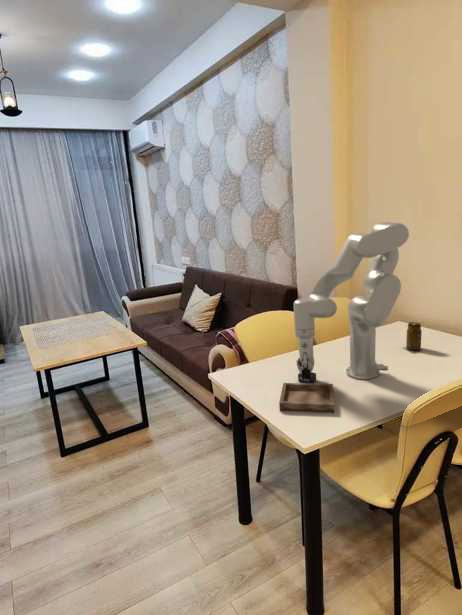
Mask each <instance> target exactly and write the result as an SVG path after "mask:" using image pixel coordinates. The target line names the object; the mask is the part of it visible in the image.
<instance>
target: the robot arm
mask: <svg viewBox="0 0 462 615" xmlns="http://www.w3.org/2000/svg"><path fill="white" fill-rule="evenodd" d="M409 237H410V233H409V229H408V227H407V226H406V225H405V224H404V223H401V222H389V221H381V222H376V224H374V225H373V226H372V227H371V230H370V233H363V232H355V233H351V234H350V235H348V237H347V238H346V239H345V242H344V243H343V245H342V247H341V249H340V250H339V252H338V254H337V256H336V258H335V260H334V261H333V264H332V265H331V267H330V268H329V270H327V271H326V272H325V273H324V274H323V275H322V276H321V277H320V278H319V280H317V282H316V284H315V285H314V287H313V288H312V291H311V293H310V294H309V297H308V298H297V299H296V300H294V302H293V320H294V322H293V323H294V336H295V337H297V339H298V340H297V341H298V353H299V357H300V362H302V379H310V378H311V375H310V368H309V362H311V363H312V362H313V357H314V340H313V339H314V338H313V337H315V335H316V327H315V319H328V318H331V317H333V316H334V315H335V314H336V313H337V310H338V306H337V303H336V302H335V301H334V300H333V299H332V298H330V296H331V294H332V292H333V291H334V290H335V289H336V288H337V287H338V286H340V285H342V284H344V283H345V282H347V281H350V280H351V279H352V278H353V277H354V275H355V273H356V271H357V269H358V268H359V266H360V264H361V262H362V261H363V259H370V258H373V261H372V262H371V265H370V267H369V268H368V271H367V273H366V274H365V277H364V279H363V281H362V288H363V290H364V291H365V292H366V293H368V294H370V295H371V297H369V296H367V295H361V294H360V295H355V296H354V297H353V298H352V299H350V300H349V303H348V306H347V312H348V313H347V314H348V320H349V336H350V337H349V356H350V357H349V366H348V367H346V370H345V373H346V375H347V376H348V377H350V378H354V379H356V380H372V379H375V378H377V377H379V376H380V371H387V372H388V371H389V366H388V365H384V363H378V362H376V338H377V337H376V335H377V333H376V332H377V331H376V330H377V329H376V327H380V326H382V325H383V324H384V323H385V322H386V321H387V319H388V317H389V316H390V314H391V312H392V310H393V308H394V306H395V305H396V302H397V300H398V298H399V296H400V293H401V290H402V284H401V281H400V278H399V277H398V276H397V275H395V274H394V272H395V270H396V268H397V265H398V262H399V259H400V258H399V256H400V254H399V253H400V252H399V248H400V247H402V246H404V245H405V243H407V241H408V239H409ZM307 360H308V361H307ZM307 363H308V364H307Z"/></svg>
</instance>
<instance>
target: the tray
mask: <svg viewBox="0 0 462 615" xmlns="http://www.w3.org/2000/svg"><path fill="white" fill-rule="evenodd" d="M334 396H335V395H334V384H333V383H302V382H283V384H282V387H281V393H280V398H279V402H278V404H279V412H295V413H296V412H298V413H322V414H323V413H325V414H327V413H328V414H335V399H334V398H335V397H334Z"/></svg>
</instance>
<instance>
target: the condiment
mask: <svg viewBox="0 0 462 615" xmlns="http://www.w3.org/2000/svg"><path fill="white" fill-rule="evenodd" d="M421 327H422V325H421V323H420V322H416V321H411V322H408V324H407V328H406V341H405V342H406V344H405V345H406V346H401V348H402V349H404V350H405V351H408V352H410V353H413V354H416V353H417V354H419V353H424V352H428V350H427V349H424V348H422V347H421V346H422V328H421Z"/></svg>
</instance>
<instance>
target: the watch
mask: <svg viewBox="0 0 462 615" xmlns="http://www.w3.org/2000/svg"><path fill="white" fill-rule="evenodd" d="M307 361H308V360H307ZM307 364H308V363H307ZM296 367H297V370H298V371H299V373H297V379H298V380H297V381H298V383H313V384H315V382H317V373H316V372H312V371H313V370H314V367H315V357H314V356H313V362H312V363H311V362H309V368H310V375H311V378H310V379H302V362H300V356H299V357H298V358H297V360H296Z"/></svg>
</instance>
